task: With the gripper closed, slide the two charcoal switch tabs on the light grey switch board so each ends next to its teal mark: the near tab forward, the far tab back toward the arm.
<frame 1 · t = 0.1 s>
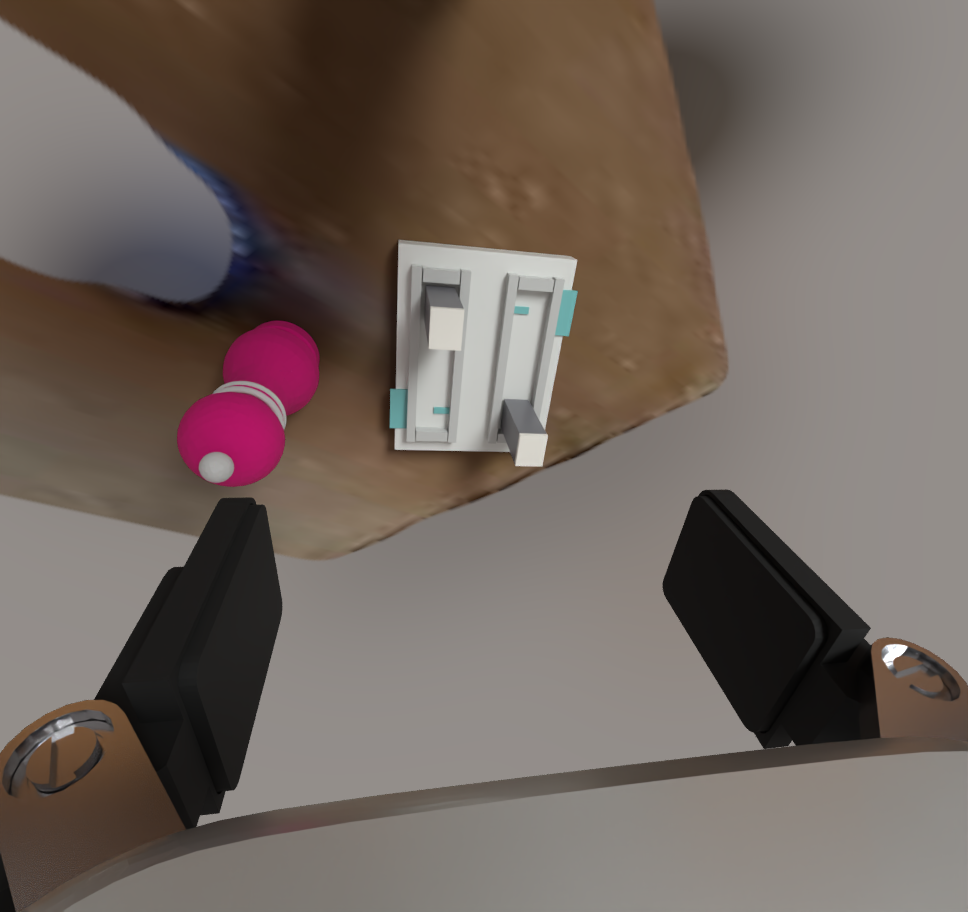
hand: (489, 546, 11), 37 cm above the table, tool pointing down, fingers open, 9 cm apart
tab a: (442, 316, 39), point 6 cm above the table, slide at 0.0 cm
pepper mill: (284, 353, 44), on the table
tab b: (522, 431, 45), point 6 cm above the table, slide at 10.0 cm
switch board: (476, 354, 47), on the table
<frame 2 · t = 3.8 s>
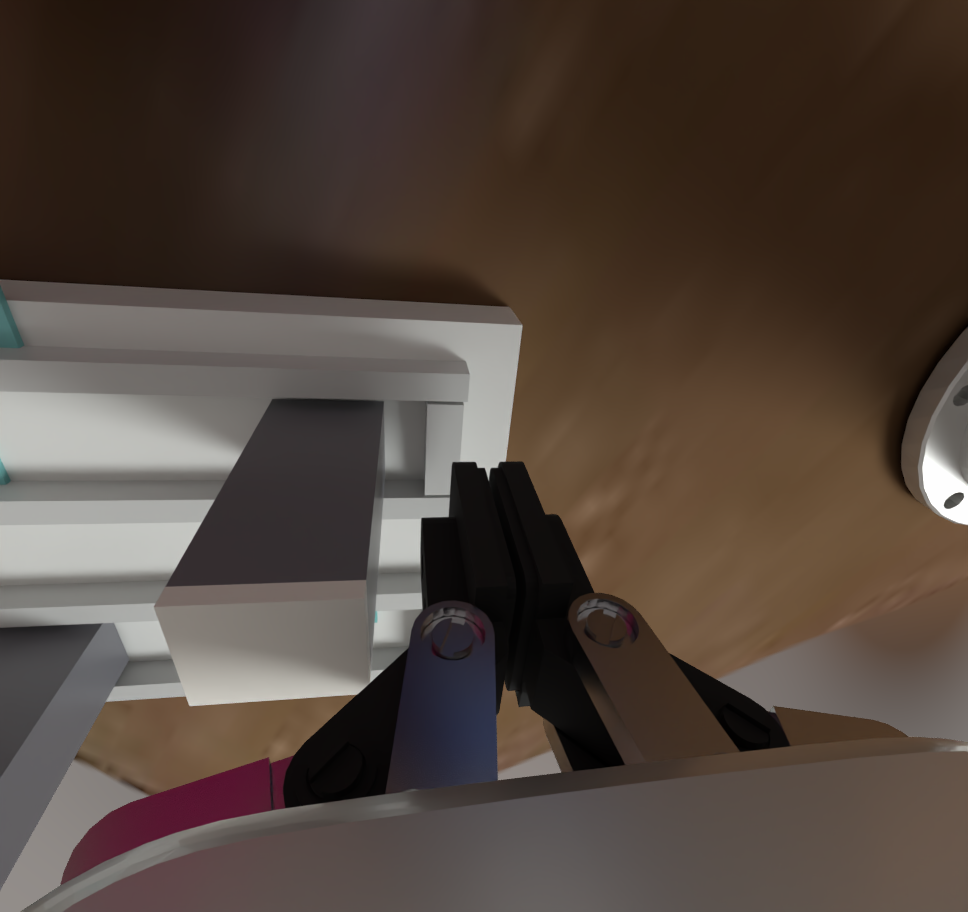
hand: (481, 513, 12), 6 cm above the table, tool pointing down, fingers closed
tab a: (310, 515, 11), point 6 cm above the table, slide at 0.8 cm, touching gripper
switch board: (226, 505, 17), on the table
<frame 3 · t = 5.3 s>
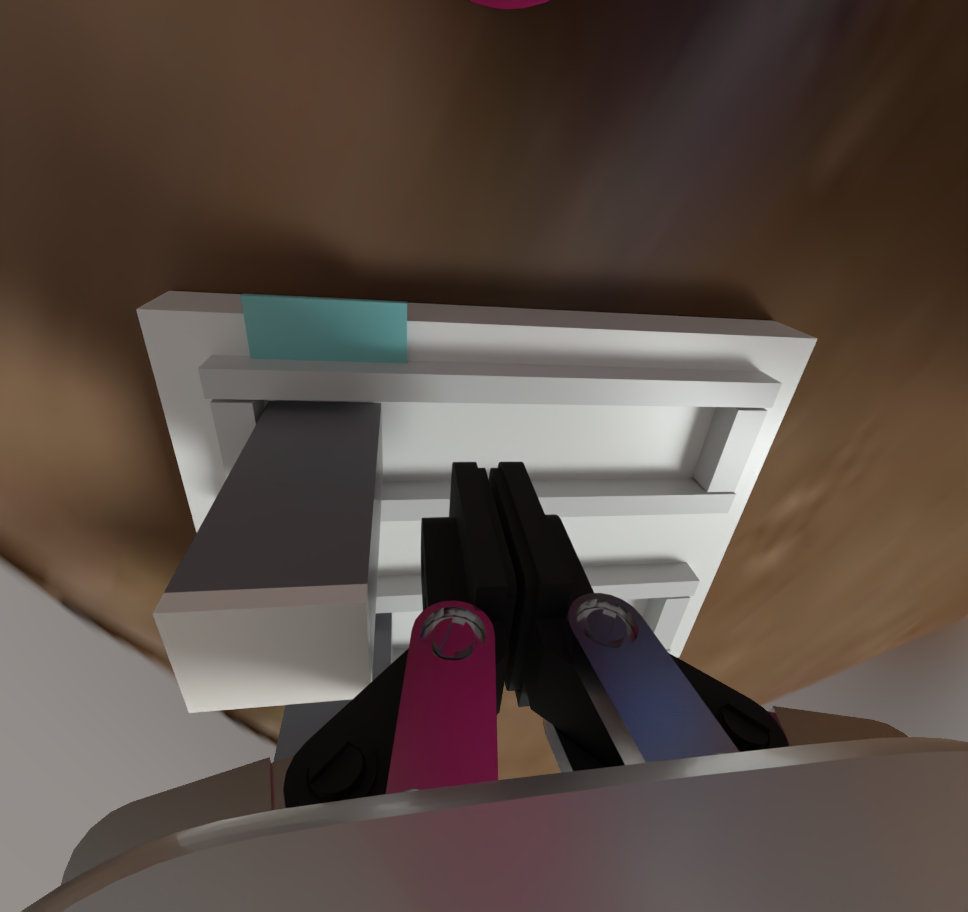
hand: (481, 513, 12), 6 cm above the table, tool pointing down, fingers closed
tab a: (309, 518, 11), point 6 cm above the table, slide at 10.2 cm, touching gripper
tab b: (341, 724, 15), point 6 cm above the table, slide at 10.0 cm
switch board: (483, 503, 19), on the table
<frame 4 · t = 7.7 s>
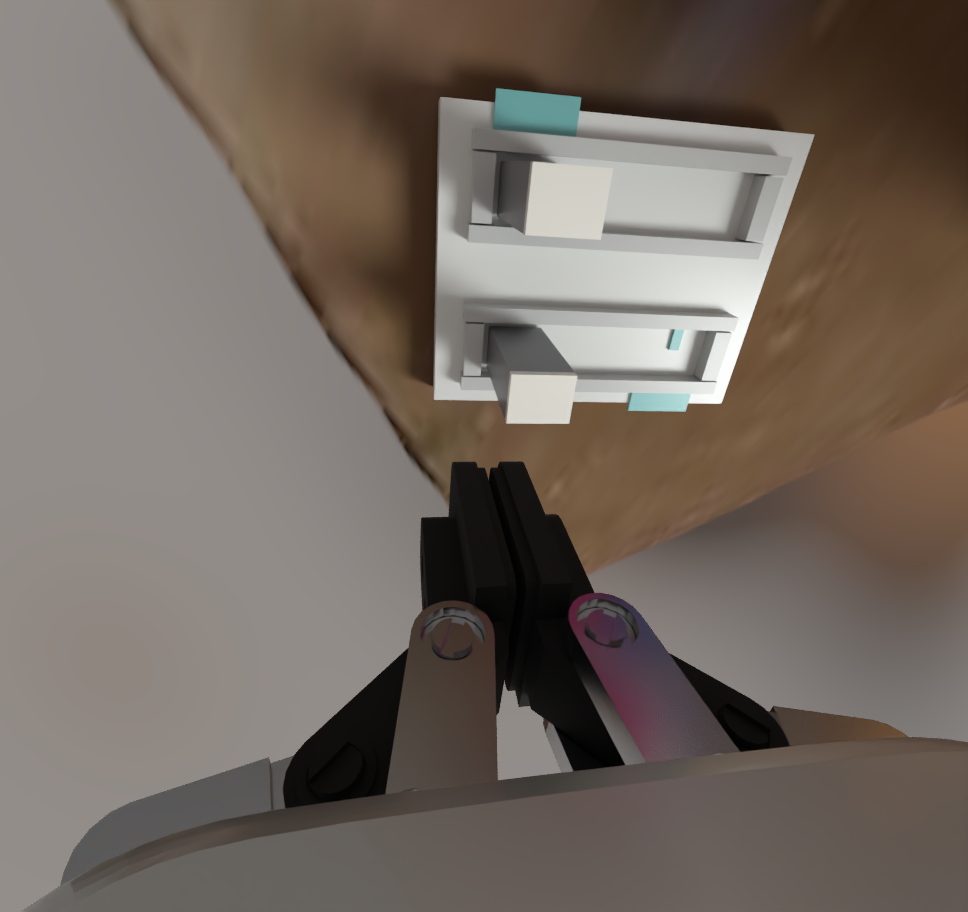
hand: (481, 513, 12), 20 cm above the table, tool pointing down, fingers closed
tab a: (545, 196, 21), point 6 cm above the table, slide at 10.0 cm
tab b: (525, 370, 25), point 6 cm above the table, slide at 10.0 cm
switch board: (595, 272, 29), on the table
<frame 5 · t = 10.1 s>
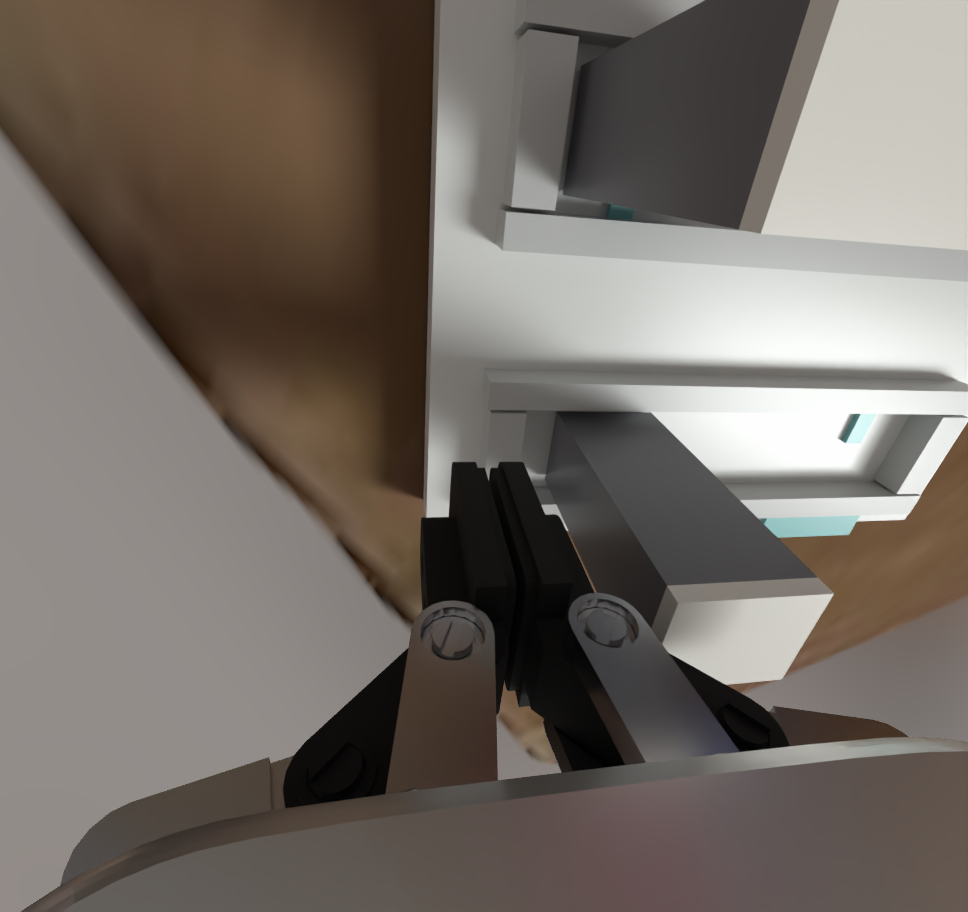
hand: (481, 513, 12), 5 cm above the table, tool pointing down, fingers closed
tab a: (727, 132, 8), point 6 cm above the table, slide at 10.0 cm
tab b: (647, 520, 12), point 6 cm above the table, slide at 9.3 cm, touching gripper
switch board: (722, 305, 16), on the table
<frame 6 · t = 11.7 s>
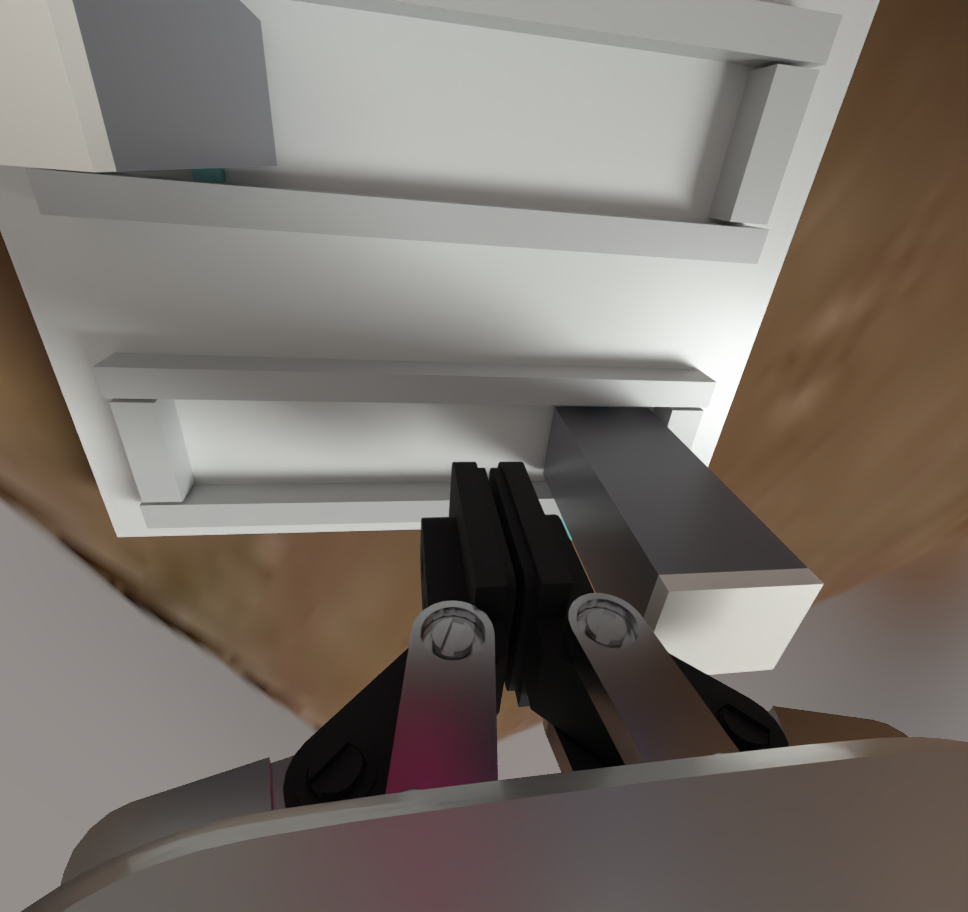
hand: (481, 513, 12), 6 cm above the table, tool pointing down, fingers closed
tab a: (88, 54, 7), point 6 cm above the table, slide at 10.0 cm
tab b: (643, 513, 12), point 6 cm above the table, slide at -0.1 cm, touching gripper
switch board: (432, 286, 14), on the table
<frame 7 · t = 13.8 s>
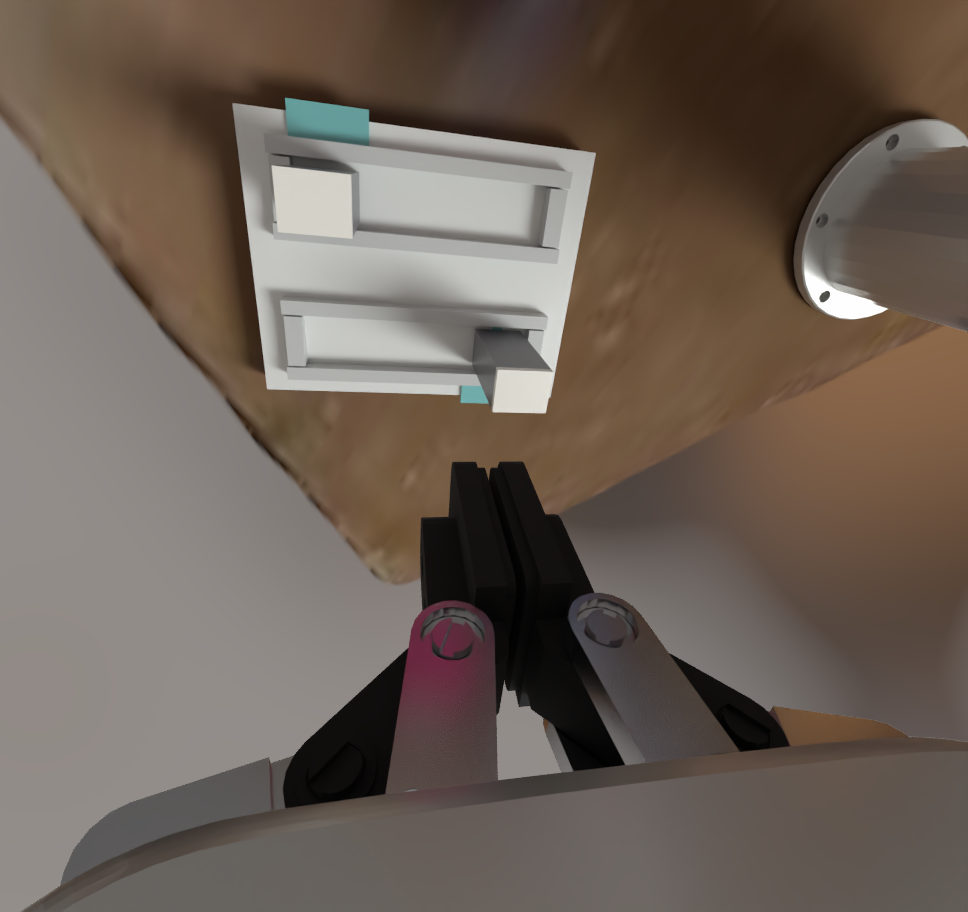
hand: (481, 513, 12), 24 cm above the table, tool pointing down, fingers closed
tab a: (323, 198, 23), point 6 cm above the table, slide at 10.0 cm
tab b: (507, 367, 29), point 6 cm above the table, slide at 0.0 cm
switch board: (419, 272, 31), on the table
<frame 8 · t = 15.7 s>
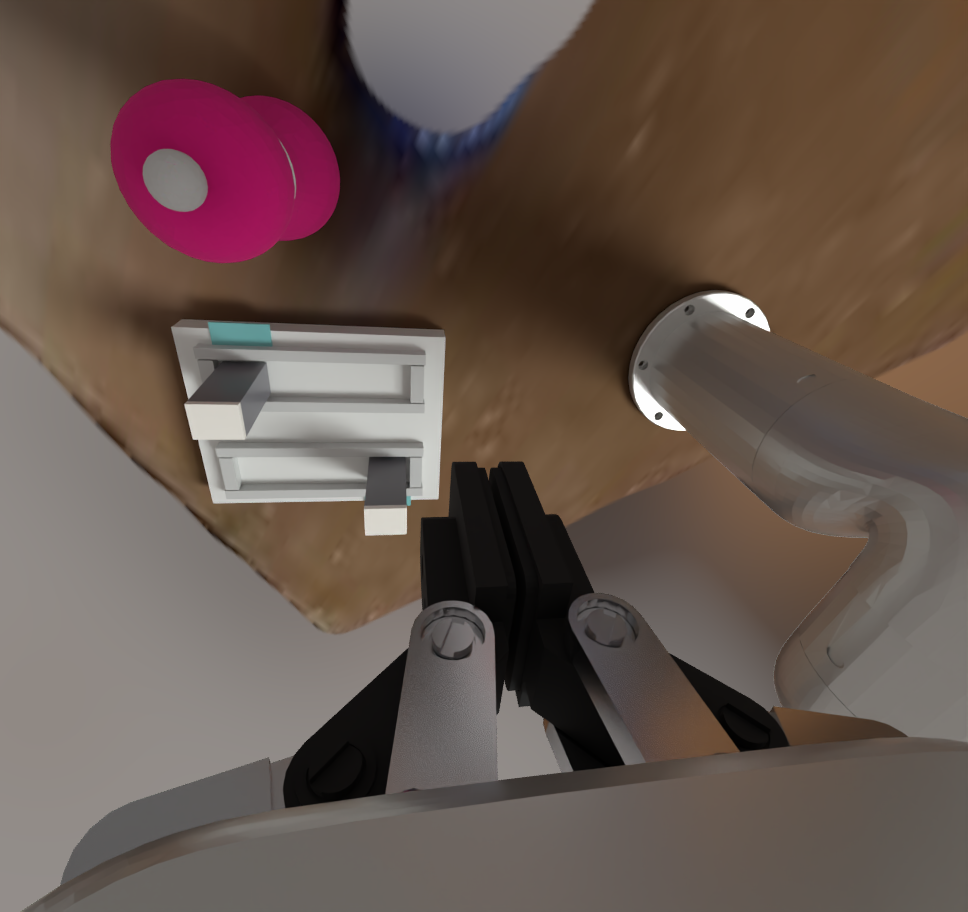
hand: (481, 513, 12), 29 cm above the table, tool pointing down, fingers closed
tab a: (232, 397, 33), point 6 cm above the table, slide at 10.0 cm
pepper mill: (289, 171, 32), on the table
tab b: (386, 492, 39), point 6 cm above the table, slide at 0.0 cm
switch board: (326, 414, 41), on the table
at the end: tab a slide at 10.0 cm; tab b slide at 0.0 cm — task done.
